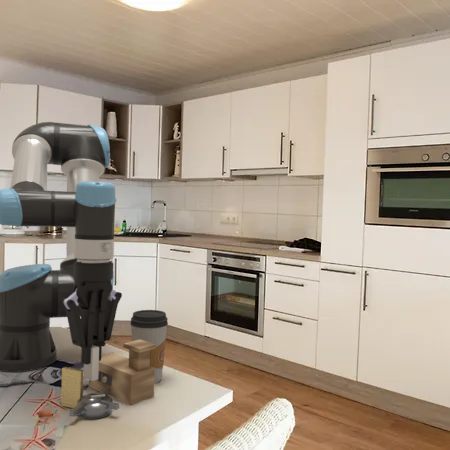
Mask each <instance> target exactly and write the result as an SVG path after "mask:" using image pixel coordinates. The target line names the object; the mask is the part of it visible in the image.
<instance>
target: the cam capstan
mask: <svg viewBox="0 0 450 450" xmlns="http://www.w3.org/2000/svg"><path fill="white" fill-rule="evenodd" d="M110 393H111V389H110V388H106V389H104V390H103V391H98V393H93V392H92V393H87V394H84V369H80V368H73V367H68V366H63V367H62V368H61V396H60V397H61V398H60V399H61V400H60V406H62V407H67V408H70V410H69V414H68V415H69V417H76V416H78V417H80V418H82V419H90V420H91V419H101V418H104V417H107V416H109V415H111V413H112V412H113V410H114V411H117V410H119V409H120V403H119V402H114V401H113V397H111V396H109V395H108V394H110Z"/></svg>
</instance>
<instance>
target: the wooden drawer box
mask: <svg viewBox="0 0 450 450" xmlns="http://www.w3.org/2000/svg"><path fill="white" fill-rule="evenodd" d="M122 347H123V348H124V349H127V350H128V357H127V356H123V355H120V354H118V353H115V352H108V353H104V354H101V361H99V370H98V380H94V381H90V380H88V387H91V388H92V389H95V390H96V391H98V392H101V391H103V390H104V389H106V388H110V389H111V393H110V394H108V396H110V397H112V398H114V399H116V400H119V401H120V402H122V403H123V404H124V403H125V404H127V405H129V406H133V405H135V404H138V403H141V402H143V401H146V400H149V399H151V398H154V396H155V395H154V394H155V384H154V373H155V368H154V367H151V366H150V350H152V349H155V348H156V344H153V343H150V342H147V341H144V340H141V339H139V340H135V341H132V340H131V341H128V342H124V343H123V344H122Z"/></svg>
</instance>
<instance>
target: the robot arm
mask: <svg viewBox="0 0 450 450" xmlns="http://www.w3.org/2000/svg"><path fill="white" fill-rule="evenodd" d="M110 149H111V148H110V140H109V136H108V133H107V131H106V130H105V129H104V128H103V127H100V126H94V125H91V124H87V125H85V124H83V125H82V124H75V123H65V122H63V123H62V122H54V121H44V122H39V123H35V124H33V125H30V126H28V127H27V128H25V129H23V130H22V131H21V132H19V134H17V136H16V137H15V139H14V140H13V143H12V148H11V155H12V158H13V161H14V162H13V167H12V168H13V169H12V175H11V180H10V187H9V188H1V189H0V225H1V226H12V227H16V228H18V227H50V228H52V227H54V228H55V227H56V228H57V227H58V228H66V257H65V258H64V259H63V260H62V261H61V262H60V264H59V266H60V267H59V269H56V270H55V269H53V268H52V266H51V264H49V263H36V264H28V265H27V264H26V265H21V266H15V267H12V268H11V267H10V268H7V269H6V270H4V271H2V272H1V273H0V371H1V372H7V373H8V372H10V373H13V372H29V371H35V370H38V369H43V368H45V367H48V366H51V365H52V364H54V363H55V362H56V361H57V348H56V347H57V346H56V344H55V340H54V337H53V335H52V333H51V332H52V331H51V326H50V325H51V319H53V318H57V319H58V318H67V322H68V328H69V332H70V339H71V343H72V344H73V346H77V347H80V348H81V349H80V350H81V353H80V354H81V356H80V357H81V359H80V361H81V363H82V364H83V379H86V380H88V381H89V380H90V381H94V380H98V370H99V361H101V355H103V354H102V352H103V350H102V348H103V347H105V346H106V344H107V342H106V341H110V340H111V338H112V332H113V329H114V328H113V327H114V324H115V319H116V314H117V309H118V306H119V303H120V300H121V299H122V296H123V293H122V292H120V291H119V292H118V291H116V290H114V282H115V281H114V279H115V277H114V275H115V274H114V262H113V261H112V260H113V259H114V257H115V256H114V253H115V250H114V249H115V217H116V216H115V215H116V203H117V198H116V186H115V184H113V183H112V182H106V181H100V177H102V175H104V173H105V169H106V168H107V169H108V167H109V166H110V161H111V152H110ZM48 165H54V166H60V171H61V172H62V174H64V175H65V176H66V191H65V190H64V191H63V190H62V191H61V190H60V191H58V190H48Z"/></svg>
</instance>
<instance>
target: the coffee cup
mask: <svg viewBox="0 0 450 450" xmlns="http://www.w3.org/2000/svg"><path fill="white" fill-rule="evenodd" d="M168 324H169V322H168V317H167V314H166V312H165V311H162V310H158V309H157V310H156V309H142V310H136V311H135V312H133V313H132V317H131V318H130V326H131V327H130V328H131V341H135V340H139V339H141V340H144V341H147V342H150V343H153V344H156V348H155V349H152V350H150V366H151V367H154V368H155V373H154V385H155V384H158V383H159V382H160V381H161V379H162V377H163V367H164V363H165V354H166V353H165V351H166V344H167V343H166V341H167V340H166V337H167V330H168V329H167V327H168Z"/></svg>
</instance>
